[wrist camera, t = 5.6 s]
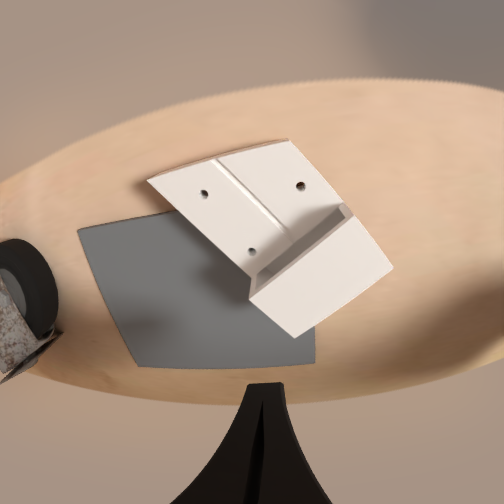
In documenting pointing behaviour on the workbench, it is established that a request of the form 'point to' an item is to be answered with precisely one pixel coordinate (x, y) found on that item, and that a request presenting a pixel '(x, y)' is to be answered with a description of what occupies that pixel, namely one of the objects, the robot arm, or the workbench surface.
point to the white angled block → (279, 230)
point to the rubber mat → (184, 298)
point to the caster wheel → (25, 306)
